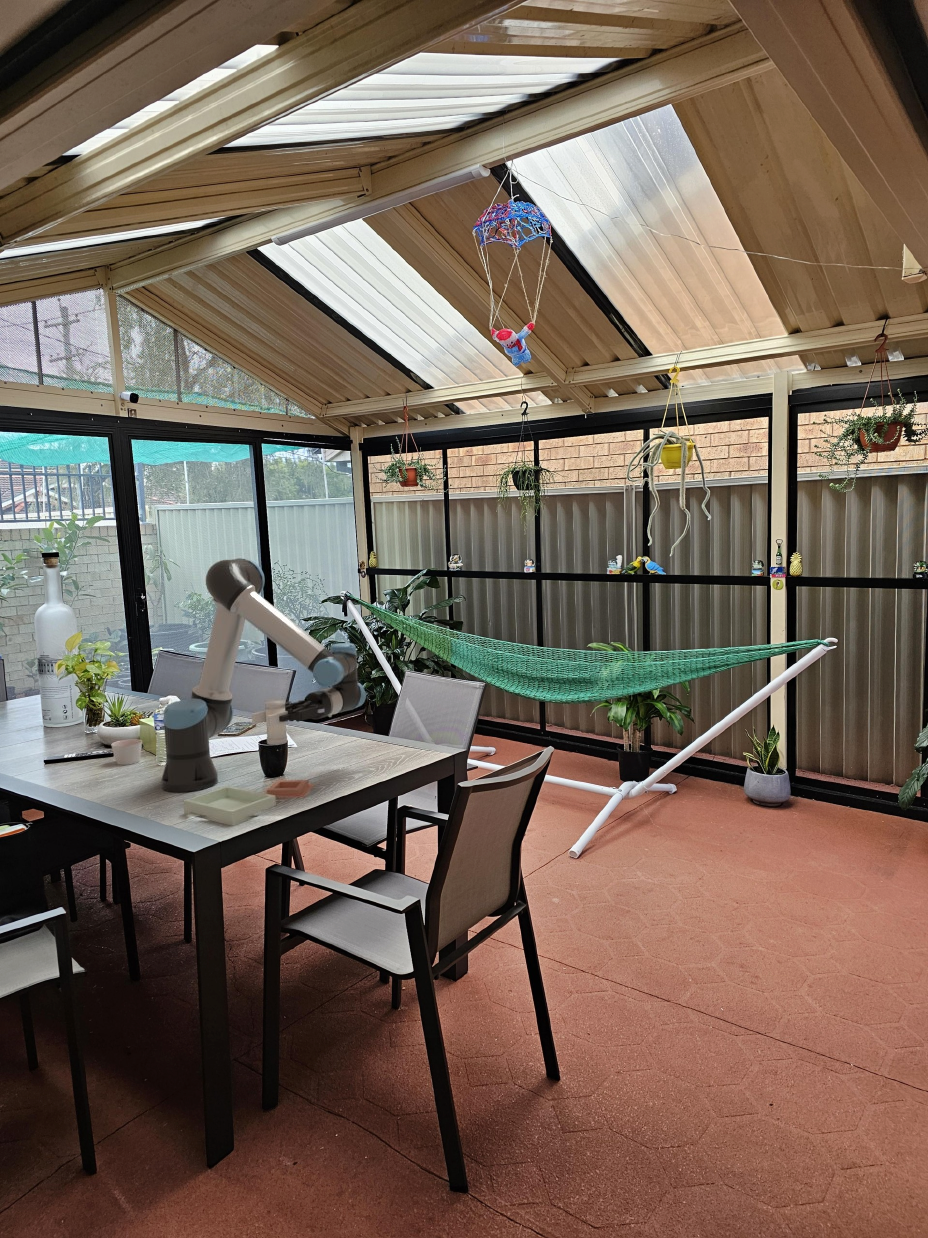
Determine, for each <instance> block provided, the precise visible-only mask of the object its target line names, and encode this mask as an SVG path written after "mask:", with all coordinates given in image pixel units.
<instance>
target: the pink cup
mask: <svg viewBox="0 0 928 1238" xmlns="http://www.w3.org/2000/svg"><path fill="white" fill-rule="evenodd" d="M110 745H111V750H112V752H113V757H114V760H115V763H116V765H118V766H119V765H120V766H129V765H134V764H137V763H139V762H140V761H141V756H142V755H141V754H142V746H143V740H142V739H138V738H137V739H136V738H133V739H130V738H129V739H123V740H117V741H115V742H112V743H111V744H110Z"/></svg>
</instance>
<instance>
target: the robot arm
mask: <svg viewBox="0 0 928 1238" xmlns="http://www.w3.org/2000/svg"><path fill="white" fill-rule="evenodd" d="M265 583H266V582H265V574H264V572H263V570H262V568H261V566H260V565H259V564H258V563H256V562H254V561H253V560H251V559H248V558H247V559H246V558H242V557H239V558H234V559H223V560H219V561H216V562H215V563H213V565H211V566H210V567H209V568H208V571H207V573H206V576H205V586H206V589H207V591H208V593H209V594H210V596H211V597H212V598H213V599H212V601H213V603H214V604H215V605H216V610H215V614H214V615H215V616H214V618H213V623H212V628H211V632H210V637H209V640H208V641H209V642H208V644H207V645H208V646H207V650H206V653H205V654H206V655H205V658H204V664H203V666H202V667H203V668H202V671H201V676H200V681H199V684H197V685H196V686H194V687H193V688H192V690H191V695H190V698H185V699H181V700H176V701H174V702H173V701H172V702H171V703H169V704H168V705H166V706H165V708H164V710H163V718H162V721H163V727H164V728H163V729H164V731H163V732H164V740H165V741H164V742H165V754H166V756H165V757H166V760H165V765H164V769H163V772H162V777H161V782H160V783H161V789H163V790H164V791H166V792H171V793H172V792H173V793H184V792H186V793H187V792H194V791H200V790H204V789H208V788H210V787H212V786H215V785H217V783H218V782H219V776H218V771H217V769H216V767H215V764H214V762H213V760H212V757H211V755H210V754H211V752H210V751H211V750H210V738H212V737H215V736H216V735H218V734H221V733H223V731H225V730H226V728H228V727H229V725H230V724H231V723H232V720H233V718H234V707H233V706H234V705H232V701H233V694H232V693H231V691H230V686H231V681H232V678H233V674H234V669H235V665H236V660H237V656H238V654H239V647H240V644H241V639H242V635H243V631H244V628H245V622H246V621H247V622H248V623H250V624H251V625H252V626H253V627H254V628H256V629H257V630H258V631H259V632H261V633H262V634H263V635H265V637H267V638H268V639H270V640H271V642H273V643H275V644H276V645H277V646H278V647H280V648H281V649H282V650H283V651H284V652H286V654H288V655H289V656H291V657H292V658H293V659H294V660H295V661H297V662H298V663H300V664H301V665H302V666H303V667H304V668H306V669H307V670H308V671H309V672H311V673H312V676H313V679H314V680H315V682H316V683H317V684H318V685H320V686H322V687H326V688H324V689H320V690H316V691H312V692H309V693H308V694H307V695H306V696H305V697H304V699H302V700H298V701H295V702H292V701H285V711H284V712H280V713H277V714H273V715H269V716H267V719H268V726H269V727H271V726H274V725H278V724H281V723H285V722H286V723H289V722H294V721H295V722H298V723H299V722H302V721H305V720H309V719H312V720H319V719H322V718H326V717H329V718H332V716H333V715H336V714H338V713H339V714H340V713H343V712H347V711H353V710H354V709H357V708H358V707H361V706H362V705H363V704H364V703H365V700H366V698H367V692H366V691H365V688H364V686H363V684H361V683H360V682H359V681H358V661H357V658H358V654H357V648H356V644H354V643H350V642H343V643H342V642H341V643H334V644H331V645H330V647H329V649H327V648H326V647H325V646H324V645H322V644H321V643H320V642H319V641H318V640H316V639H315V638H313V637H312V635H310V634H309V633H307V632H306V631H305V630H304V629H303V628H301V627H300V626H299V625H298V624H297V623H295V622H294V621H293V620H292V619H290V618H289V617H288V616H286V615H285V614H284V613H282V611H280V610H279V609H277V608H276V607H275V606H274V605H273V604H271V603H270V602H269V601H268V600H266V599H265V597H262V595H260V593H261V592H262V590H263V589H264V587H265ZM264 708H265V707H264ZM251 723H252V725H257V724H261V723H266V708H265V709H264V710H261V711H257V712H254V713H251Z"/></svg>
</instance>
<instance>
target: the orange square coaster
mask: <svg viewBox="0 0 928 1238" xmlns="http://www.w3.org/2000/svg"><path fill="white" fill-rule="evenodd" d="M315 785H316V783H309V779H291V780H290V779H287V780H286V779H285V780H284V779H283V780H282V779H279V780H275V781H274V782H273V783H272V784H271V785H270V786H269V787H268V788H267V789H266V790H265V791H264V792H263V793H265V794H270V795H275V798H280V799H281V798H305V797H306V796H307V794H309V792H310V791H311V790H312V789H313V788H314V787H315Z"/></svg>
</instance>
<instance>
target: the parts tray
mask: <svg viewBox="0 0 928 1238" xmlns="http://www.w3.org/2000/svg"><path fill="white" fill-rule="evenodd" d="M275 806H277V802H276V798H275V795H270V794H265V793H264V792H258V791H255V790H249V789H245V788H240V787H234V786H230V785H226V786H223V787H219V788H217V789H214V790H211V791H208V792H205V793H201V794H199V795H196V796H194V797H193V796H192V797H190V798H187V799H184V800H183V813H184V815H189V814H191V813H193V814H198V815H193V817H194V818H200V819H203V820H208V821H212V822H216V823H220V824H223V825H224V824H225V825H227V826H237V825H239V824H241V823H244V822H246V821H249V820H252V819H254V818H256V817H259V816H260V815H259V814H257V813H260V812H262V811H265V810H268V809H270V808H272V807H273V808H274V807H275ZM255 814H257V815H255Z"/></svg>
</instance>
